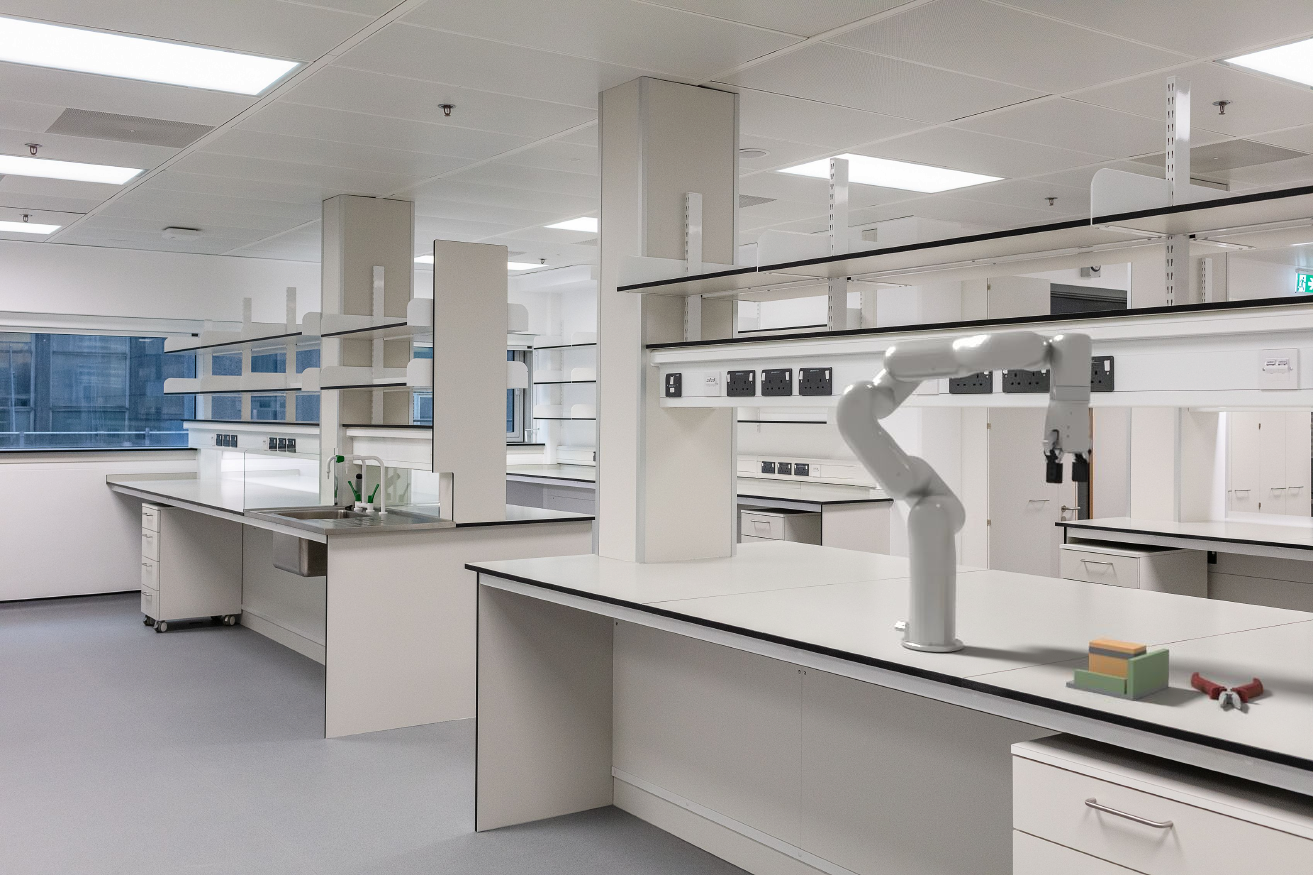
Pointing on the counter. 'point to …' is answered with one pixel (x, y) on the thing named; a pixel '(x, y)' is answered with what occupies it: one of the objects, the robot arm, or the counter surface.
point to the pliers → (1226, 696)
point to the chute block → (1112, 656)
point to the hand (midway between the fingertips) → (1067, 482)
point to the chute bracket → (1128, 677)
